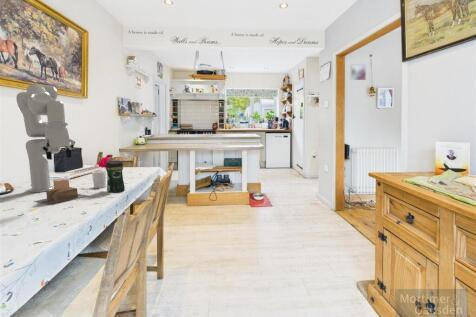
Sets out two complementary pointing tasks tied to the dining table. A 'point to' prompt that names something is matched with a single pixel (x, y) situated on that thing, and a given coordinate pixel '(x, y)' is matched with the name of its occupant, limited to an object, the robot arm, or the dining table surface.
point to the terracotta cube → (61, 184)
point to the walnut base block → (61, 194)
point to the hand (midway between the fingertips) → (59, 158)
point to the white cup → (99, 179)
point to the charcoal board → (49, 202)
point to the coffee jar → (114, 176)
